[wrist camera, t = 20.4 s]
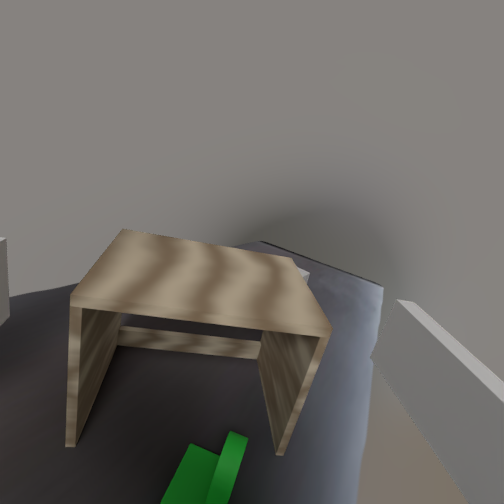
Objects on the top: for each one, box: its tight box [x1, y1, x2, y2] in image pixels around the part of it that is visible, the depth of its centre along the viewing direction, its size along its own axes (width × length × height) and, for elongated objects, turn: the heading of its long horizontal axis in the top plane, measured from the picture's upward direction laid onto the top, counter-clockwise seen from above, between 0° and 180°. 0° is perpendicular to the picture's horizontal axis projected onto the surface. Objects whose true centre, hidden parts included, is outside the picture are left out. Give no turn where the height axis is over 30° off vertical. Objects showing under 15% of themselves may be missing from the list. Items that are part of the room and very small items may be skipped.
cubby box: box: [65, 229, 333, 456], centre depth 41 cm, size 25×18×19 cm
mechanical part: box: [160, 431, 248, 504], centre depth 29 cm, size 12×6×8 cm, turn 165°
